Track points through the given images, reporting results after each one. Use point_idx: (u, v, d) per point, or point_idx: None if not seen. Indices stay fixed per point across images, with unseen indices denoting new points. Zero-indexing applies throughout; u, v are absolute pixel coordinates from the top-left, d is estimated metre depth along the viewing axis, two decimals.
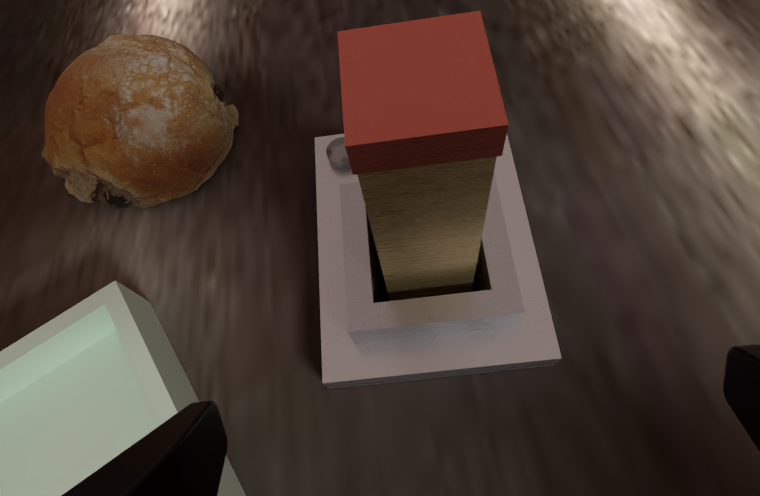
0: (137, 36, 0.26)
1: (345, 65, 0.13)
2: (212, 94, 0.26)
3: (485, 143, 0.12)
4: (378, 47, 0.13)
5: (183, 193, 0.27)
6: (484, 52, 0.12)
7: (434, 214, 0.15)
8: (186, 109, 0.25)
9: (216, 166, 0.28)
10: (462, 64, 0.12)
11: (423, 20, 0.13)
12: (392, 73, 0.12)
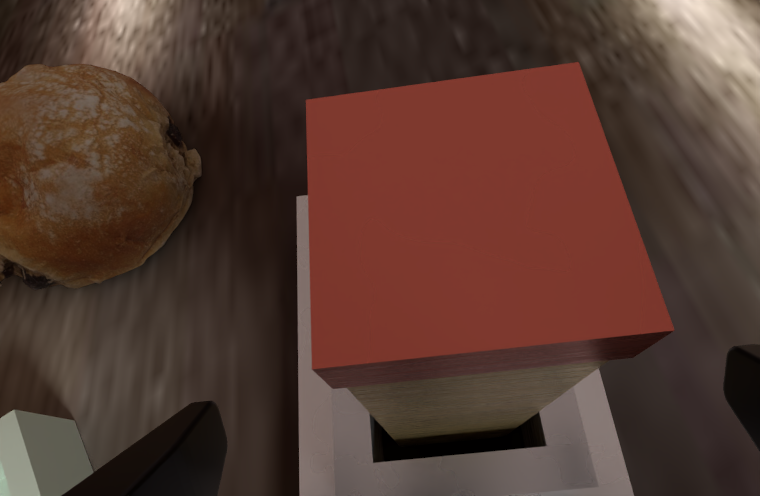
0: (63, 66, 0.20)
1: (318, 172, 0.06)
2: (161, 142, 0.20)
3: (609, 349, 0.06)
4: (383, 134, 0.07)
5: (123, 271, 0.20)
6: (597, 150, 0.06)
7: (479, 398, 0.09)
8: (122, 165, 0.19)
9: (169, 232, 0.21)
10: (554, 176, 0.06)
11: (469, 80, 0.07)
12: (412, 192, 0.06)
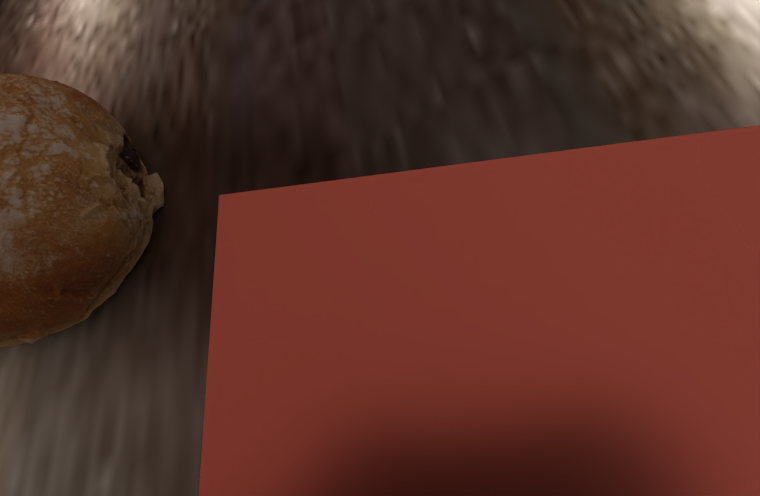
0: None
1: (231, 387, 0.03)
2: (107, 170, 0.16)
3: None
4: (384, 289, 0.03)
5: (62, 328, 0.17)
6: None
7: None
8: (52, 203, 0.15)
9: (121, 277, 0.18)
10: None
11: (572, 157, 0.03)
12: (457, 463, 0.02)
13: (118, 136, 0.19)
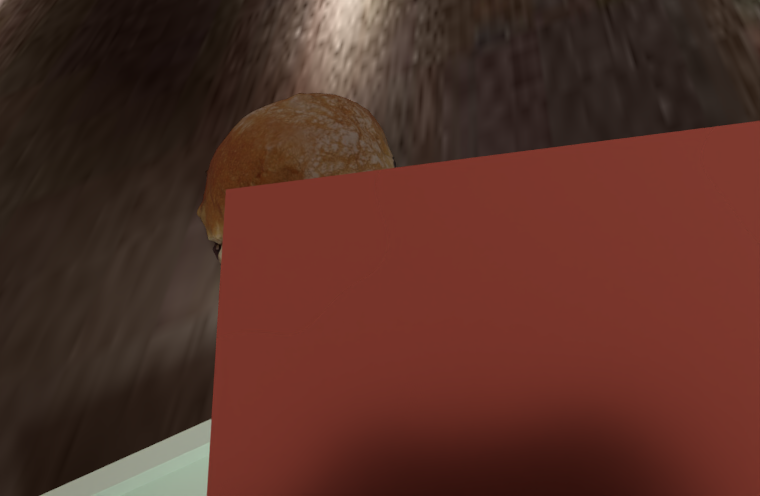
0: (324, 98, 0.23)
1: (238, 379, 0.03)
2: None
3: None
4: (391, 282, 0.03)
5: None
6: None
7: None
8: None
9: None
10: None
11: (578, 151, 0.03)
12: (464, 454, 0.02)
13: None
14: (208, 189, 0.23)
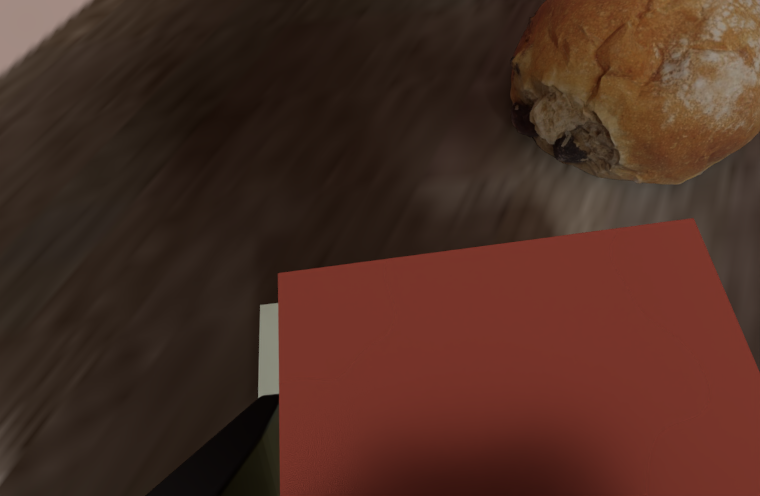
0: None
1: (296, 412, 0.04)
2: None
3: None
4: (397, 342, 0.04)
5: (665, 182, 0.19)
6: (746, 389, 0.04)
7: None
8: None
9: (712, 164, 0.20)
10: (681, 438, 0.04)
11: (527, 245, 0.04)
12: (447, 460, 0.04)
13: None
14: (545, 30, 0.19)
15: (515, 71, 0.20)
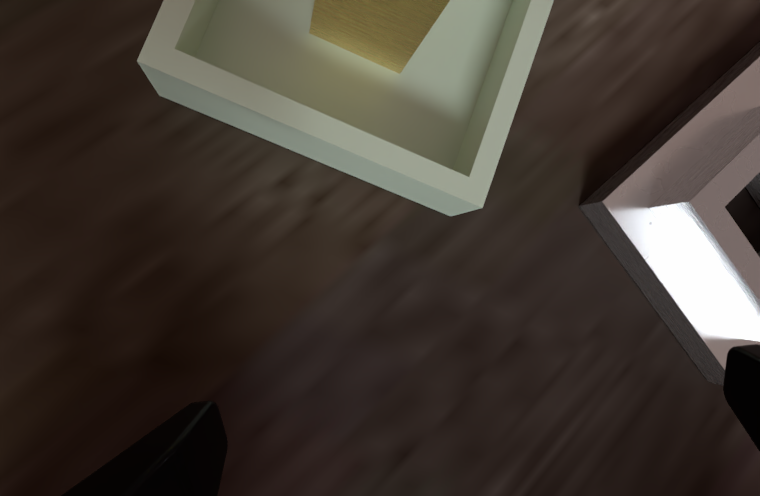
0: None
1: None
2: None
3: None
4: None
5: None
6: None
7: None
8: None
9: None
10: None
11: None
12: None
13: None
14: None
15: None
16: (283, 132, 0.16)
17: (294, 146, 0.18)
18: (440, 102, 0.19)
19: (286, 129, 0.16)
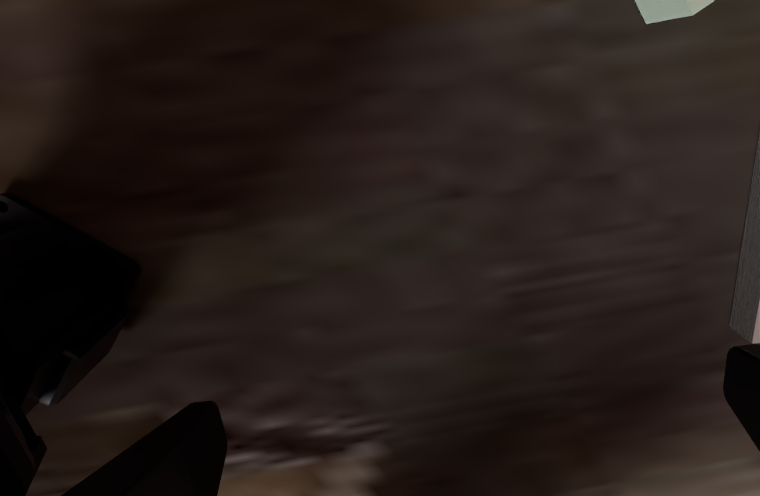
0: None
1: None
2: None
3: None
4: None
5: None
6: None
7: None
8: None
9: None
10: None
11: None
12: None
13: None
14: None
15: None
16: None
17: None
18: None
19: None
